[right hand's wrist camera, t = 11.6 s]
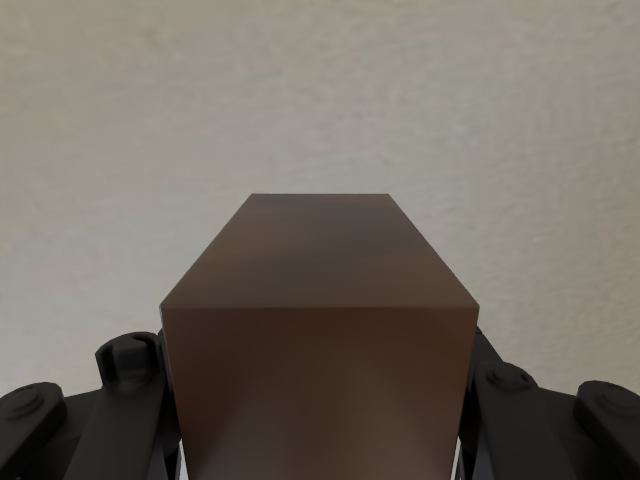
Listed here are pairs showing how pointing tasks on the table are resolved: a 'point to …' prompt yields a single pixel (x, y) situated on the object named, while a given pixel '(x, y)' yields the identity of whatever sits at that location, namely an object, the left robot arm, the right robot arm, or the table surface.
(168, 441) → the right robot arm
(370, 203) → the beam
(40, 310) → the table surface
